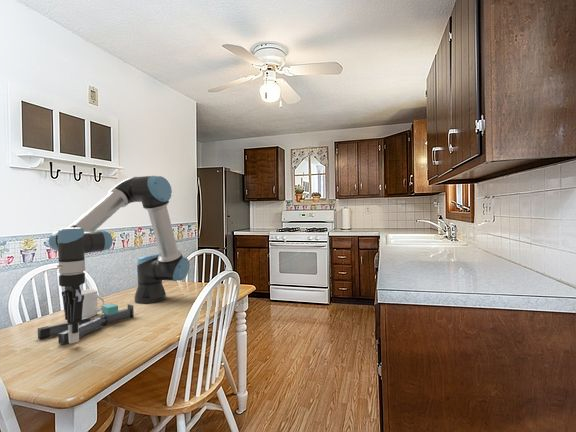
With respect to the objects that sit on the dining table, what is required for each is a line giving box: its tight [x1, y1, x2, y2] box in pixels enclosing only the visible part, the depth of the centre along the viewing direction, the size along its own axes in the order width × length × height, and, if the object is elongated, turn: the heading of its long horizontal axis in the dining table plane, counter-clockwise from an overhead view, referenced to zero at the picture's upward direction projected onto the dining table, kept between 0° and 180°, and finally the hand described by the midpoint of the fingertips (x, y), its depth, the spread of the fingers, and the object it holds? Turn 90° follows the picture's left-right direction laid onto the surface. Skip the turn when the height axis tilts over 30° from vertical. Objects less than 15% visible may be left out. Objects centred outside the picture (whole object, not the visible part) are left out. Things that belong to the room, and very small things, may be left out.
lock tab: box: [101, 302, 119, 315], centre depth 141 cm, size 4×6×3 cm, turn 51°
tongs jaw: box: [57, 318, 103, 345], centre depth 126 cm, size 17×3×4 cm, turn 166°
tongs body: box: [37, 303, 135, 340], centre depth 136 cm, size 33×6×5 cm, turn 141°
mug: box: [80, 288, 105, 318], centre depth 151 cm, size 9×12×11 cm
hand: (73, 341), depth 117 cm, fingers closed
